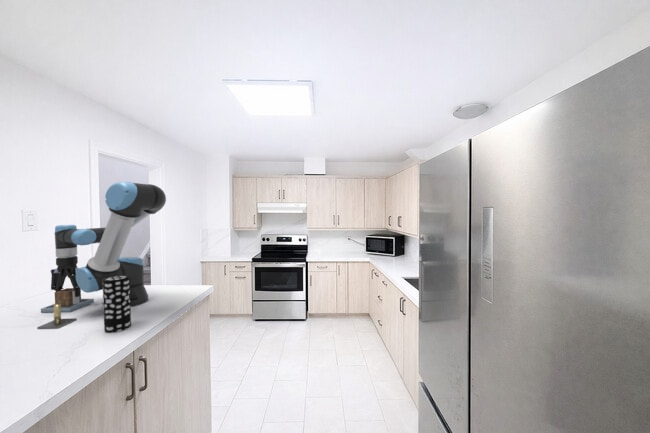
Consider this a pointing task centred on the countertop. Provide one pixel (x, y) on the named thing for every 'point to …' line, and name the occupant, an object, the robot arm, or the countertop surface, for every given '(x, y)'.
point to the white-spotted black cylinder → (116, 303)
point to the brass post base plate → (57, 320)
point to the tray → (70, 308)
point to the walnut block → (65, 297)
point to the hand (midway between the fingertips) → (68, 303)
